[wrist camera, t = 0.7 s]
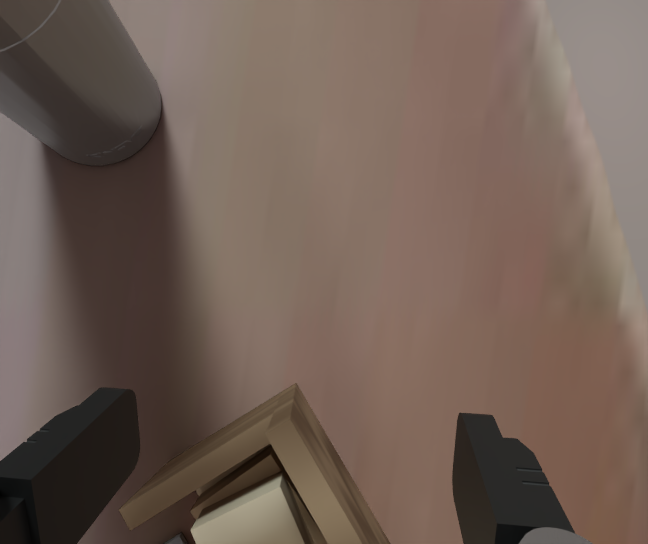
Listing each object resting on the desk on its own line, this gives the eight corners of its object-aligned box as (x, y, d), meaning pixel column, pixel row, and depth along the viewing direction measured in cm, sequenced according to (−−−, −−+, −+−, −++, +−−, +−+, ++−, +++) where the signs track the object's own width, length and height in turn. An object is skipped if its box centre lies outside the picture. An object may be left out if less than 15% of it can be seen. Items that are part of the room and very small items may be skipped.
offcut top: (202, 508, 28) (190, 530, 25) (282, 470, 28) (280, 486, 25) (237, 592, 27) (229, 625, 24) (318, 552, 28) (319, 579, 25)
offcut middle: (201, 493, 31) (190, 511, 28) (273, 442, 31) (270, 454, 28) (253, 576, 30) (247, 603, 27) (326, 522, 31) (328, 543, 28)
